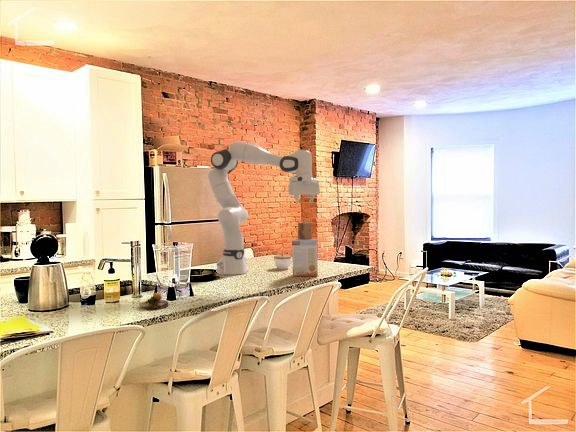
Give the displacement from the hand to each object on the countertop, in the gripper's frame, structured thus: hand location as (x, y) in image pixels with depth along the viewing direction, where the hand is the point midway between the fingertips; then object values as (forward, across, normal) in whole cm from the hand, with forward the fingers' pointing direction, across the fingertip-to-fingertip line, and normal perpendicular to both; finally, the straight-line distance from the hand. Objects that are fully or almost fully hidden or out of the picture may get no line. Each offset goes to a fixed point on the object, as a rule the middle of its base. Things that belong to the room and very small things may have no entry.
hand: (304, 203), depth 263 cm
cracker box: (+41, 0, 0) cm, 41 cm away
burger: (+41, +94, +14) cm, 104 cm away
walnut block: (+20, 0, 0) cm, 20 cm away
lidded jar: (+41, -5, -28) cm, 50 cm away
